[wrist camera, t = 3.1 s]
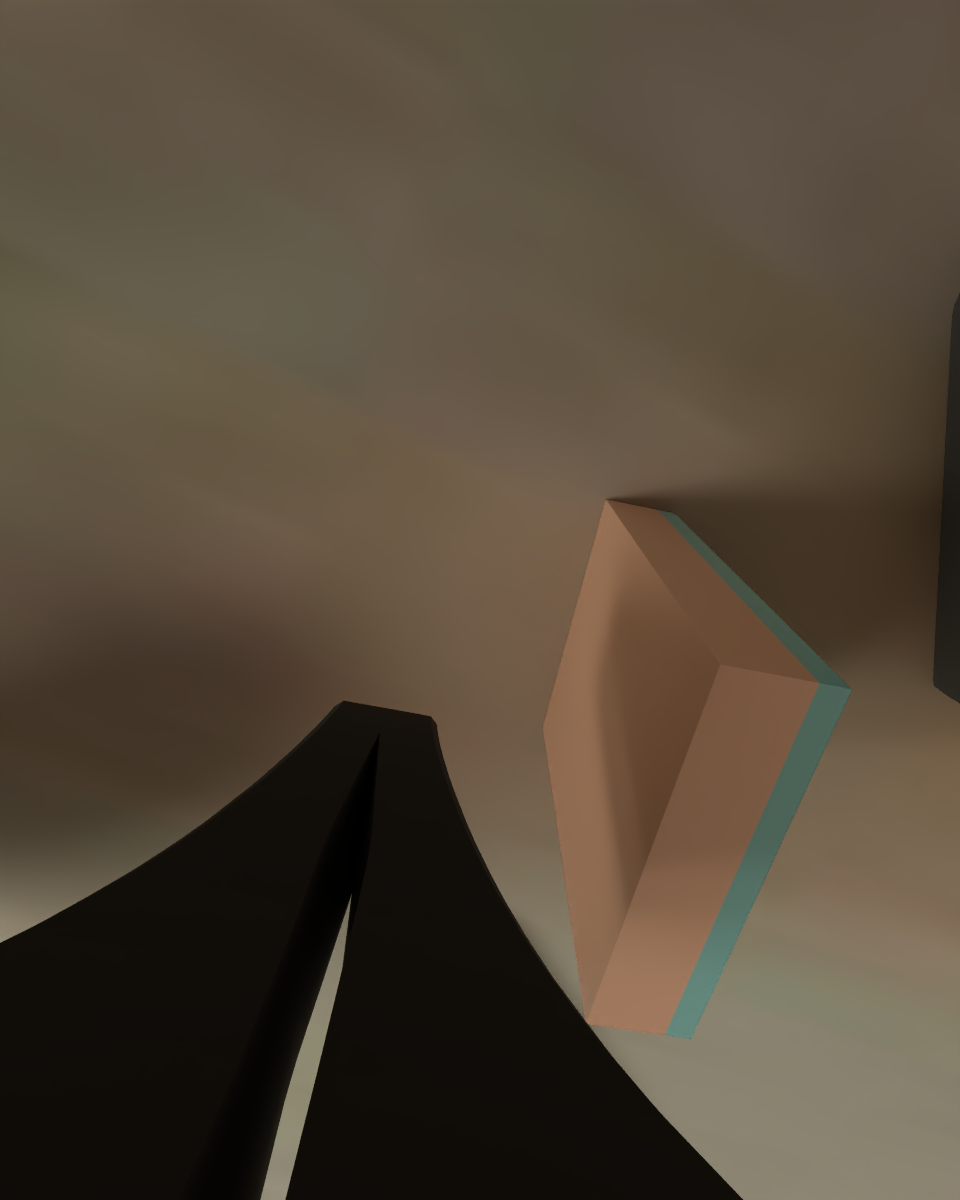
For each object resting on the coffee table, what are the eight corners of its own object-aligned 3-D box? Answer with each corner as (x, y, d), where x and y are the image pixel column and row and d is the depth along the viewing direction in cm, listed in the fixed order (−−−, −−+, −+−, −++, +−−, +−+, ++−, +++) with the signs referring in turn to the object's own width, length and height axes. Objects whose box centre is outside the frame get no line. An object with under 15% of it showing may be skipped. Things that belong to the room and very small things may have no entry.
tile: (542, 726, 17) (585, 1023, 10) (605, 499, 15) (720, 664, 8) (603, 737, 18) (690, 1039, 10) (674, 513, 15) (852, 688, 8)
